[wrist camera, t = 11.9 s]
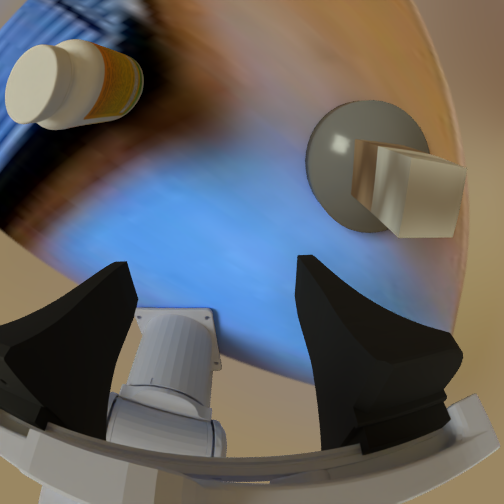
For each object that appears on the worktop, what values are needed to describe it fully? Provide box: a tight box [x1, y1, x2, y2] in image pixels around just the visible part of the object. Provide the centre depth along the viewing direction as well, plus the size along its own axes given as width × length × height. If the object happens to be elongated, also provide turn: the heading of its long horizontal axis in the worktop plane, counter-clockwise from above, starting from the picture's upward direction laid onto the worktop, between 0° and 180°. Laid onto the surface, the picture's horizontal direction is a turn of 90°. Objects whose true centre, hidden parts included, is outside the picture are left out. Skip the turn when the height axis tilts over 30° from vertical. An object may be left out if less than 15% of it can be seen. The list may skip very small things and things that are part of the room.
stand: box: [305, 100, 430, 233], centre depth 18 cm, size 10×10×2 cm
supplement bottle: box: [5, 39, 144, 130], centre depth 11 cm, size 5×5×10 cm
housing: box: [351, 139, 467, 238], centre depth 14 cm, size 4×4×7 cm
